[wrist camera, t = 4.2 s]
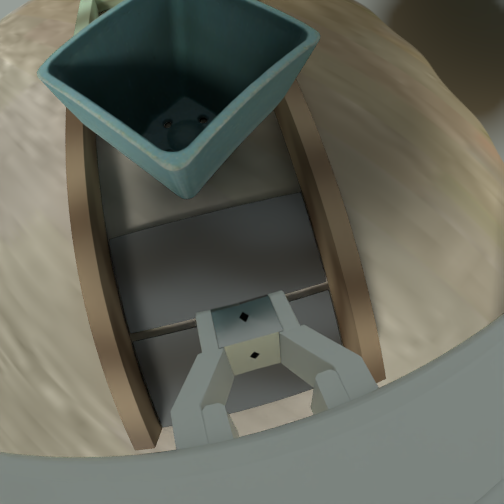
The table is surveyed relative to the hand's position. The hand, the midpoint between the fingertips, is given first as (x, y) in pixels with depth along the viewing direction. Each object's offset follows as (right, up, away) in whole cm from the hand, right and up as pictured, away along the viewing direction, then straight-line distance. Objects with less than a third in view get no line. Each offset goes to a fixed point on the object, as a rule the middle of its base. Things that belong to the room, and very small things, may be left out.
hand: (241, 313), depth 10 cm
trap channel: (-4, +9, +8) cm, 13 cm away
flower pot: (-4, +9, +8) cm, 13 cm away
